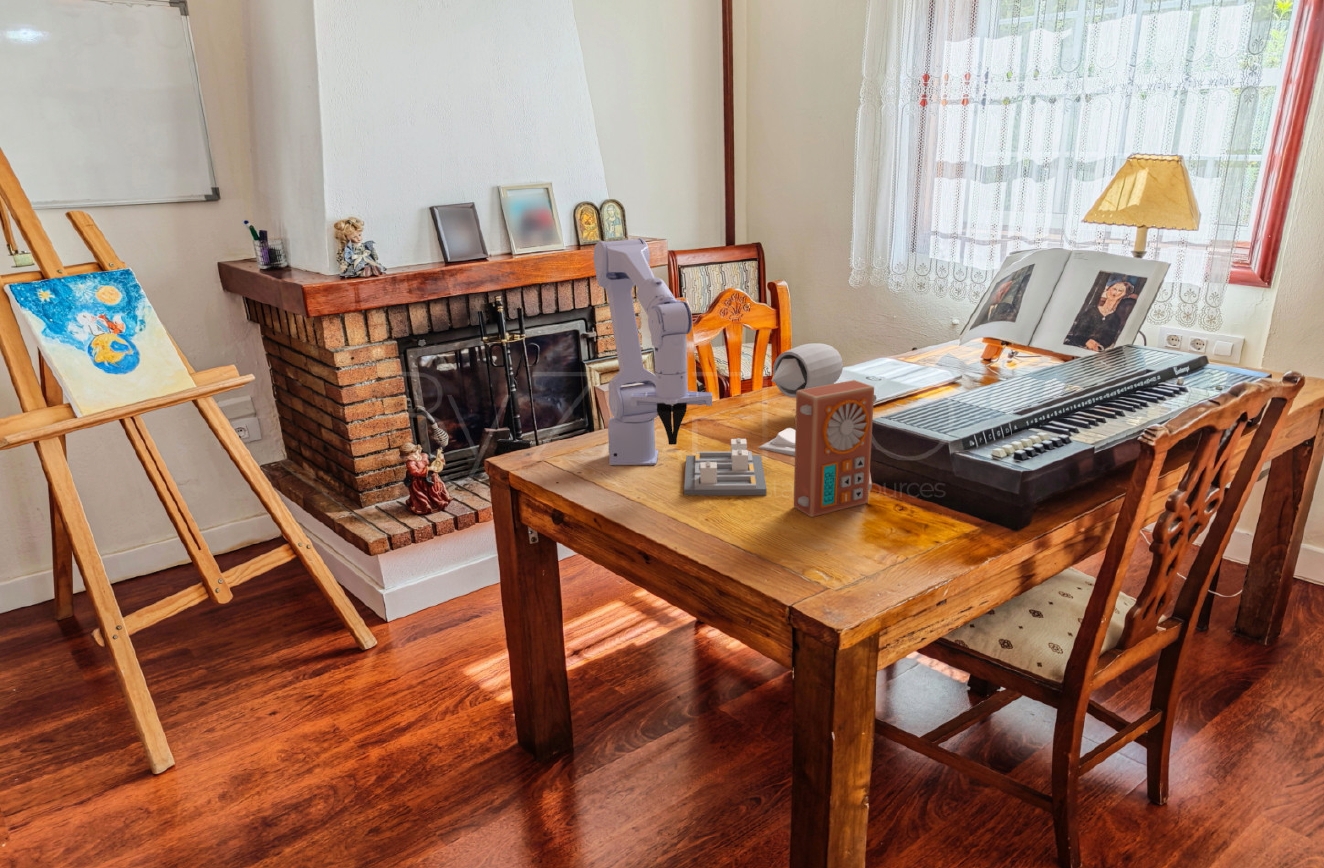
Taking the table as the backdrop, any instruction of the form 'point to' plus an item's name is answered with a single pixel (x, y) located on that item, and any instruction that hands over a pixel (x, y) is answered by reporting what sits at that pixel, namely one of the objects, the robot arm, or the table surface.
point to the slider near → (708, 472)
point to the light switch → (782, 442)
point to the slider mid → (739, 460)
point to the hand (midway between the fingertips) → (672, 442)
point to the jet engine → (806, 368)
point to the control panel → (833, 447)
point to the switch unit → (725, 475)
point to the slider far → (738, 444)
